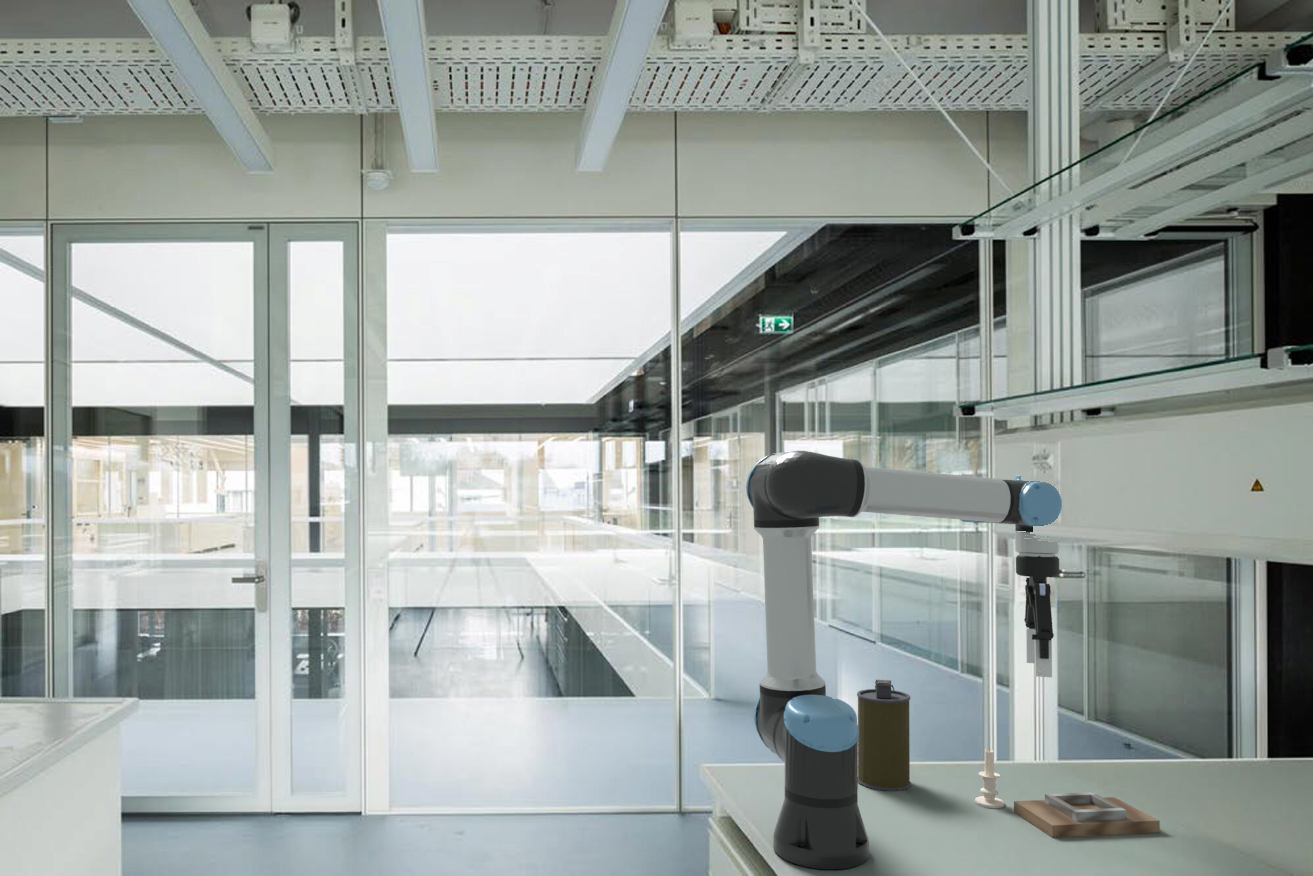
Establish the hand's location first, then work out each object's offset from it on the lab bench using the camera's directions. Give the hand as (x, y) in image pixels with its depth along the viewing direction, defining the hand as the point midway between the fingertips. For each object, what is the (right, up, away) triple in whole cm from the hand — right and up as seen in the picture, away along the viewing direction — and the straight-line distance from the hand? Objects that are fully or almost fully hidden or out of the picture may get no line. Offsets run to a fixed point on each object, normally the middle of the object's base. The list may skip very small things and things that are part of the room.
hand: (1038, 669), depth 168 cm
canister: (-26, -26, +12) cm, 39 cm away
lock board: (+5, -25, -8) cm, 27 cm away
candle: (-9, -26, +1) cm, 27 cm away
